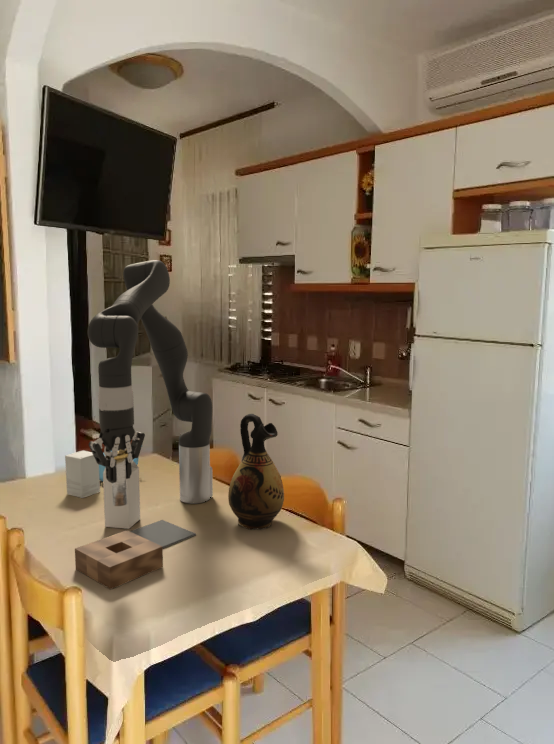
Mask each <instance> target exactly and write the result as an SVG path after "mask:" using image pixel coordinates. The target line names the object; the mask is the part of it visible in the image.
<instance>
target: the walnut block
mask: <svg viewBox="0 0 554 744" xmlns="http://www.w3.org/2000/svg"><path fill="white" fill-rule="evenodd" d="M130 531H131V530H127V529H125V530H123V531H120V532H118V533H115V534H113V535H110V536H106V537H104V538H103V537H102V538H100V539H98V540H95V541H92V542H89V543H87V544H83V545H81V546H77V547H75V548H74V558H75V559H74V560H75V570H77V571H78V572H80V573H81V572H82V574H83V575H85V576H87V577H88V576H89V578H90V579H92V580H93V579H94V580H93V581H95V582H97V583H99V584H100V585H102V586H104V587H106V588H107V589H109V590H113V589H115V588H117V587H119V586H122V585H124V584H126V583H129V582H131V581H134V580H136V579H138V578H140V577H142V576H146V575H147V574H149V573H152V572H154V571H157V570H160V569H162V568H163V567H164V558H163V557H164V556H163V555H164V554H163V553H164V550H163V549H164V548H163V547H162V546H160V545H158V544H156V543H154V542H152V541H149V540H147V539H145V538H143V537H141V536H138V535H136V534H134V533H132V532H130Z"/></svg>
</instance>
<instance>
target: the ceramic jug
mask: <svg viewBox="0 0 554 744" xmlns="http://www.w3.org/2000/svg"><path fill="white" fill-rule="evenodd" d="M251 422H252V423H253V426H254V428H253V429H252V430H251V432H249V428H248V427H249V423H251ZM239 425H240V427H239V428H240V429H239V431H240V438H241V443H242V444H241V445H242V448H243V455H242V458H241V462H240V463H239V465H238V467H237V468H236V470H235V472H234V473H233V475H232V477H231V481H230V484H229V487H228V495H227V497H228V505H229V506H230V509H231V511H232V512H233V514H234V515H235V516H236V517H237V522H238V524H239V525H240V526H241V527H243V528H245V529H247V530H251V531H252V530H263V529H268V528H270V526H272V525H273V520H274V519H275V518H276V517H277V516H278V514H279V513H280V512H281V511H282V508H283V506H284V502H285V490H284V485H283V480H282V475H281V474H280V472H279V470H278V469H277V466H276V465H275V463H274V461H273V459H272V457H270V455H269V454H268V452H267V450H266V448H265V442H266V441H267V440H269V439H272V438H276V437H277V436H278V435H279V433H278V430H277V427H276V426H275V425H274V424H273V423H272V422H269V423H268V424H265V423H263V421H262V419H261V417H260V416H258V415H255V414H254V413H248V414H246V415H244V416H243V417H242V419H241V420H240V424H239ZM250 438H251V439H252V443H251V442H250V441H251V440H250ZM271 524H272V525H271Z"/></svg>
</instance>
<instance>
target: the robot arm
mask: <svg viewBox="0 0 554 744" xmlns="http://www.w3.org/2000/svg"><path fill="white" fill-rule="evenodd" d="M168 270H169V269H168V268H167V266H166V264H165V263H164V262H163V261H161V260H159V259H151V260H147V261H140V262H136V263H131V264H128V265H126V266H125V267H124V269H123V272H122V276H123V282H124V285H125V289H126V291H124V292H123V293H121V294H120V295H119V296H118V297H117V298H116V299H115V301H114V302H113V304H111V306H108V307H107V308H105V309H104V310H102V311H100V312H98V313H97V314H95V316H93V317H92V319H91V320H90V321H89V324H88V326H87V337H88V340H89V341H90V343H91V344H92V345H93V346H95V347H96V348H101V349H102V348H103V349H105V348H107V349H109V348H110V349H119V352H118V354H117V356H114V357H109V358H105V359H102V360H100V361H99V362H98V365H97V366H98V367H97V368H98V372H97V373H98V385H99V386H98V395H97V397H98V420H99V421H98V422H99V424H98V425H99V428H100V433H99V435H98V438H97V439H96V440H94V441H88V447H89V449H90V452H92V454H93V456H94V458H95V460H96V462H97V464H99V465H102V466H105V467H106V479H107V480H108V481H109V482H111V483H115V482H116V467H114V466H115V460H114V457H116V456H117V454H118V451H121V452H124V453H127V454H128V457H127V458H126V479H129V478H130V475H131V474H132V471H131V470H132V468H131V462H132V460H133V459H135V458H138V457H139V456H140V452H141V451H142V447H143V443H144V440H145V437H146V435H145V432H142V431H135V428H134V425H135V410H134V409H135V406H134V392H133V385H132V384H133V383H132V362H133V357H134V352H135V349H136V345H137V341H138V337H139V336H138V335H139V327H138V324H139V323H140V320H141V323H142V326H143V329H144V331H145V333H146V336H147V339H148V341H149V345H150V348H151V350H152V352H153V355H154V357H155V360H156V362H157V365H158V368H159V370H160V373H161V376H162V378H163V382H164V385H165V387H166V393H167V396H168V401H169V404H170V407H171V408H170V409H171V410H172V414H173V415H174V417H175V418H176V419H177V420H179V421H181V422H188V423H191V430H189V431H186V432H183V433H181V434H180V435H179V437H178V458H179V459H178V463H179V464H178V468H179V500H180V501H181V502H183V503H185V504H201V503H205V501H206V502H207V501H210V499H211V498H212V496H213V494H214V493H213V489H214V488H213V467H212V466H211V457H210V454H211V451H210V449H211V448H210V446H211V445H210V443H211V442H210V441H211V440H210V438H211V435H212V427H213V425H212V423H213V422H212V420H213V402H212V398H211V396H210V395H209V394H208V393H206V392H201V391H193V390H191V391H190V390H189V389H188V387H187V385H186V383H185V379H184V372H185V368H186V366H187V362H188V356H189V353H188V349H187V346H186V342H185V340H184V336H183V334H182V332H181V330H180V328H178V327H177V326H176V325H175V324H174V323H173V322H171V321H170V320H169V319H168V318H167V317H165V316H164V315H163V314H162V313H161V312H159V311H158V310H157V309H156V307H155V306H154V303H155V302H156V301H158V299H160V298H161V297H162V296H163V295H164V294H166V293H167V292H168V290H169V288H170V284H171V279H170V277H171V276H170V273H169V271H168ZM103 446H104V449H103ZM102 449H103V450H102ZM111 451H112V452H111ZM103 453H104V454H103ZM104 455H105V456H104ZM108 456H110V459H109V458H108ZM210 497H211V498H210Z"/></svg>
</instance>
